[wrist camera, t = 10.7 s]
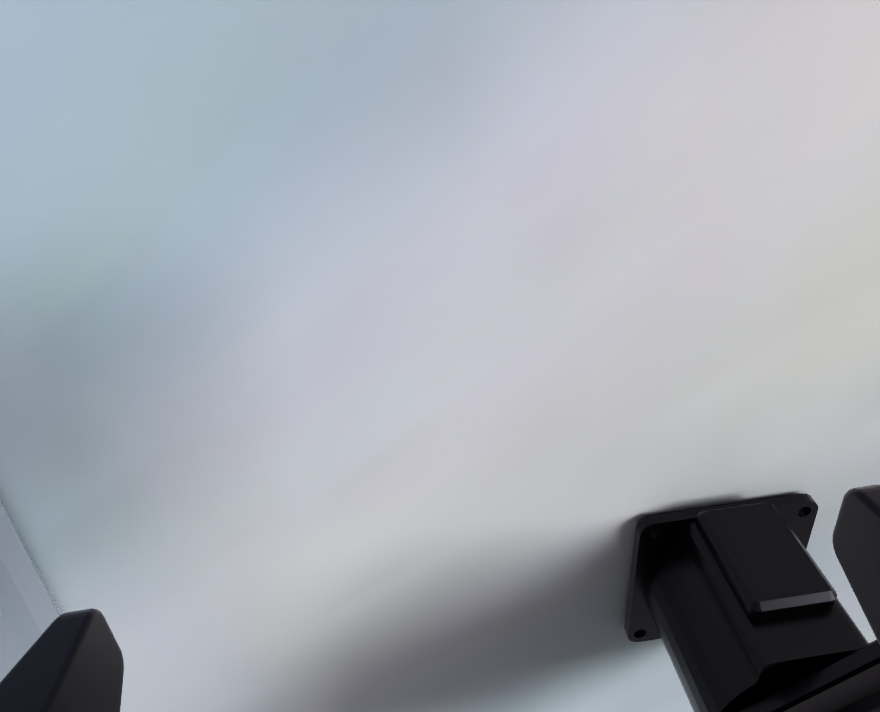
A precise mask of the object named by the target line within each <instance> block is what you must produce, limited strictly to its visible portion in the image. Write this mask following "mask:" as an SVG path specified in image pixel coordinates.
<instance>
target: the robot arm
mask: <svg viewBox="0 0 880 712" xmlns="http://www.w3.org/2000/svg"><path fill="white" fill-rule="evenodd" d="M817 511H818V505H817V504H816V503H815V501H814V500H813V499H812V497H811V496H810V495H808V494H796V495H789V496H782V497H775V498H768V499H761V500H754V501H747V502H740V503H733V504H726V505H719V506H712V507H705V508H698V509H691V510H685V511H678V512H671V513H664V514H657V515H650V516H647V517H645V518H643V519H641V520H640V521H639V522H638V523H637V526H636V532H635V540H634V549H633V557H632V566H631V574H630V583H629V591H628V600H627V608H626V617H625V625H624V628H625V631H626V634H627V636H628V639H629V640H630V641H633V642H640V641H647V640H653V639H659V638H662V640H663V643H664V645H665V647H666V649H667V652H668V654H669V656H670V658H671V661H672V663H673V665H674V668H675V670H676V672H677V674H678V677H679V679H680V681H681V683H682V686H683V688H684V690H685V692H686V695H687V697H688V699H689V701H690V704H691V706H692V708H693V711H694V712H880V485H871V486H865V487H858V488H853V489H850V490H849V491H848V492H847V493H846V494H845V495H844V498H843V501H842V505H841V508H840V511H839V515H838V518H837V522H836V525H835V529H834V532H833V546H834V550H835V553H836V556H837V558H838V560H839V562H840V564H841V566H842V568H843V570H844V572H845V574H846V576H847V579H848V581H849V583H850V585H851V587H852V589H853V591H854V593H855V595H856V597H857V599H858V601H859V603H860V605H861V607H862V609H863V611H864V614H865V616H866V618H867V620H868V622H869V624H870V626H871V628H872V630H873V632H874V634H875V636H876V638H877V640H875V641H873V642H871V643H868V642H867V640H866V639H865V637H864V636H863V635H862V633H861V632H860V630H859V629H858V628H857V626H856V625H855V623H854V622H853V620H852V619H851V618H850V616H849V615H848V613H847V612H846V610H845V609H844V608H843V606H842V605H841V603H840V602H839V600H838V599H837V598H836V597H837V594H836V591H835V590H834V588H833V587H832V586H831V584H830V583H829V581H828V580H827V579H826V577H825V576H824V574H823V573H822V571H821V570H820V569H819V567H818V566H817V564H816V563H815V562H814V560H813V559H812V557H811V556H810V554H809V553H808V552H807V550H806V548H807V545H808V541H809V538H810V534H811V531H812V528H813V524H814V521H815V518H816V514H817ZM652 529H653V530H652ZM123 672H124V664H123V656H122V652H121V650H120V648H119V646H118V644H117V642H116V640H115V638H114V636H113V634H112V632H111V630H110V628H109V626H108V624H107V622H106V620H105V618H104V616H103V614H102V613H101V612H100V611H99V610H97V609H87V610H80V611H74V612H68V613H64V614H62V615H60V616H59V617H57V618H56V619H55V620H54V621H53V622H52V623H51V624H50V626H49V627H48V628H47V629H46V630H45V631H44V632H43V634H42V635H41V636H40V637H39V638H38V639H37V641H36V642H35V643H34V644H33V645H32V646H31V647H30V649H29V650H28V651H27V652H26V653H25V654H24V655H23V657H22V658H21V659H20V660H19V661H18V662H17V664H16V665H15V666H14V667H13V668H12V669H11V670H10V672H9V673H8V674H7V675H6V676H5V677H4V679H3V680H2V681H1V682H0V712H120V705H121V694H122V684H123Z"/></svg>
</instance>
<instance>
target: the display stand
mask: <svg viewBox="0 0 880 712" xmlns="http://www.w3.org/2000/svg"><path fill="white" fill-rule="evenodd" d="M59 616H60V614H59V613H58V611H57V609H56V607H55V605H54V603H53V601H52V599H51V597H50V595H49V593H48V591H47V589H46V587H45V586H44V584H43V582H42V580H41V578H40V576H39V574H38V572H37V570H36V568H35V566H34V564H33V562H32V560H31V558H30V557H29V555H28V553H27V551H26V549H25V547H24V545H23V543H22V541H21V539H20V537H19V535H18V533H17V531H16V530H15V528H14V526H13V524H12V522H11V520H10V518H9V516H8V514H7V512H6V510H5V508H4V506H3V504H2V503H1V501H0V682H1V681H2V680H3V679H4V677H5V676H6V675H7V674H8V673H9V672H10V670H11V669H12V668H13V667H14V666H15V665H16V664H17V662H18V661H19V660H20V659H21V658H22V657H23V655H24V654H25V653H26V652H27V651H28V650H29V649H30V647H31V646H32V645H33V644H34V643H35V642H36V641H37V639H38V638H39V637H40V636H41V635H42V634H43V632H44V631H45V630H46V629H47V628H48V627H49V626H50V624H51V623H52V622H53V621H54V620H55V619H56V618H57V617H59Z"/></svg>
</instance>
